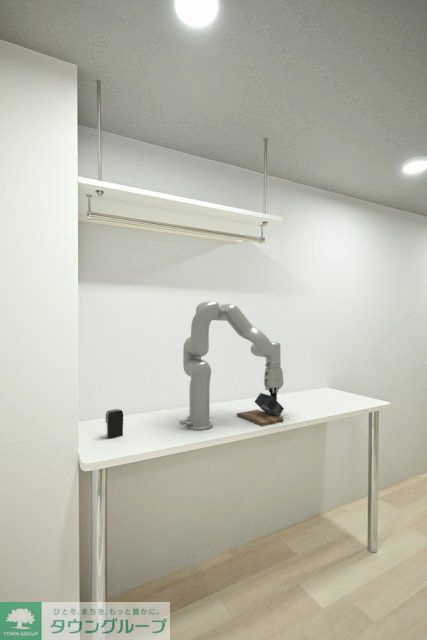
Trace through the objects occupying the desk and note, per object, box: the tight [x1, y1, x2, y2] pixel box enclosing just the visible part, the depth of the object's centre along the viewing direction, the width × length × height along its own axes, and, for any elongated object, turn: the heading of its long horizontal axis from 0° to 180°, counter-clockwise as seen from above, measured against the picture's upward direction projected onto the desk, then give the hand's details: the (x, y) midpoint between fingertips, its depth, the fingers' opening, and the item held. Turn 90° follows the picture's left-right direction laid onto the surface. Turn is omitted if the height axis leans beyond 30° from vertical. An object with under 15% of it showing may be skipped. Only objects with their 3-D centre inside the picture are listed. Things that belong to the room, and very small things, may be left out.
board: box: [236, 409, 284, 427], centre depth 165 cm, size 14×20×2 cm
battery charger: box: [105, 408, 124, 439], centre depth 140 cm, size 7×4×11 cm, turn 130°
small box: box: [254, 392, 285, 417], centre depth 170 cm, size 11×6×10 cm
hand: (273, 400), depth 171 cm, fingers closed
